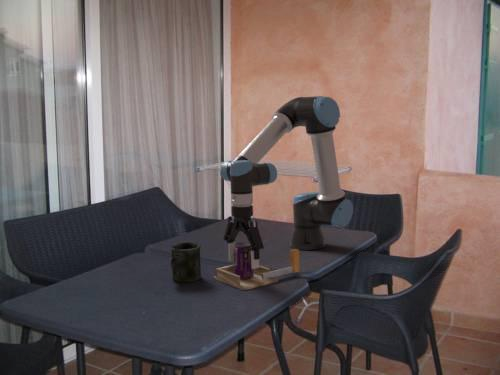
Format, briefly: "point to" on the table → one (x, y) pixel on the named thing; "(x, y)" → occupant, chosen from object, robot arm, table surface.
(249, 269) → the beverage can
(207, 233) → the table surface
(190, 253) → the mug
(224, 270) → the wooden tray
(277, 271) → the lock bar
